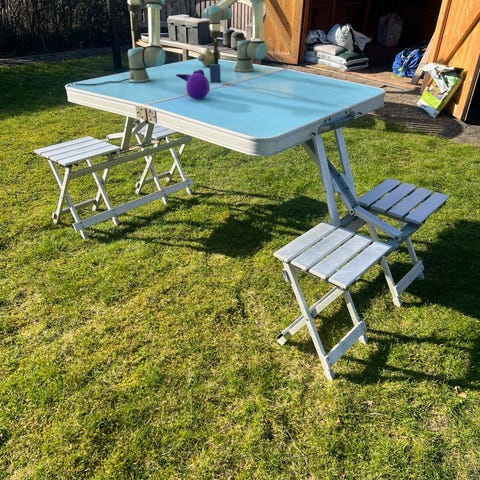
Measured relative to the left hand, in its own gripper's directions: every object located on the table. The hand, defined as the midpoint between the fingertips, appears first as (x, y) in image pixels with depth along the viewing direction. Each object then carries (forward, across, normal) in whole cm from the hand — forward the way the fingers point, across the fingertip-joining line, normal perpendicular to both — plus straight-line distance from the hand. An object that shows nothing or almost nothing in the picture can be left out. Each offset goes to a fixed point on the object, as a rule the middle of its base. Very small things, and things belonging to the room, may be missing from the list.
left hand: (138, 40), depth 293 cm
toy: (+32, +25, +36) cm, 54 cm away
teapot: (+32, -91, +45) cm, 107 cm away
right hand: (+19, -25, +51) cm, 60 cm away
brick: (+32, -24, +50) cm, 64 cm away
